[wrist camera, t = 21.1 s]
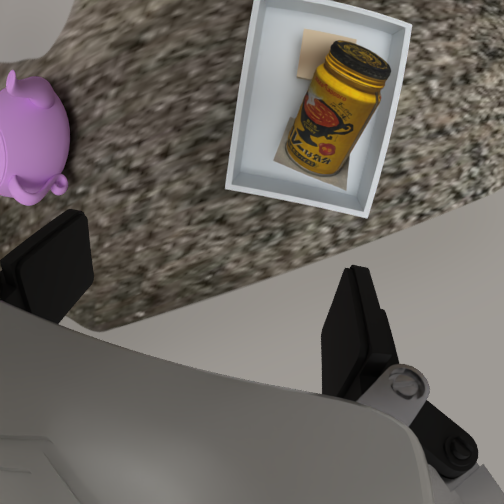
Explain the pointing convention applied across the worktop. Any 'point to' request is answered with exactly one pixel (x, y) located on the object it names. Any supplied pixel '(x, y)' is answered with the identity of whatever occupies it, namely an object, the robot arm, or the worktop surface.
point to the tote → (291, 97)
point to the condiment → (334, 113)
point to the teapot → (32, 140)
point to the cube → (315, 51)
